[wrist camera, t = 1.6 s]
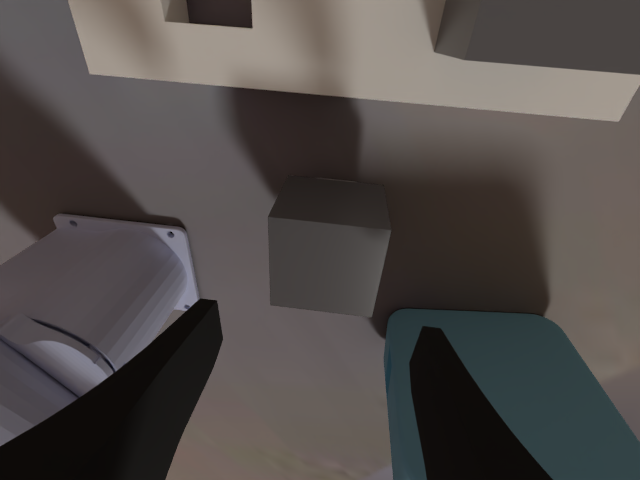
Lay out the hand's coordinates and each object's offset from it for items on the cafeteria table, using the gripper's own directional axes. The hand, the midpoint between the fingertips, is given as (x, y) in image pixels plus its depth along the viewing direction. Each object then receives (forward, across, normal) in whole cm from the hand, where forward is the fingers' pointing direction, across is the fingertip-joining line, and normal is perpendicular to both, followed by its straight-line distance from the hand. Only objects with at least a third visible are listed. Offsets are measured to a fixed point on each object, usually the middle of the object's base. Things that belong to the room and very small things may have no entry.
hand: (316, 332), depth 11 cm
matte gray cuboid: (+10, 0, 0) cm, 10 cm away
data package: (+11, -11, +10) cm, 18 cm away
